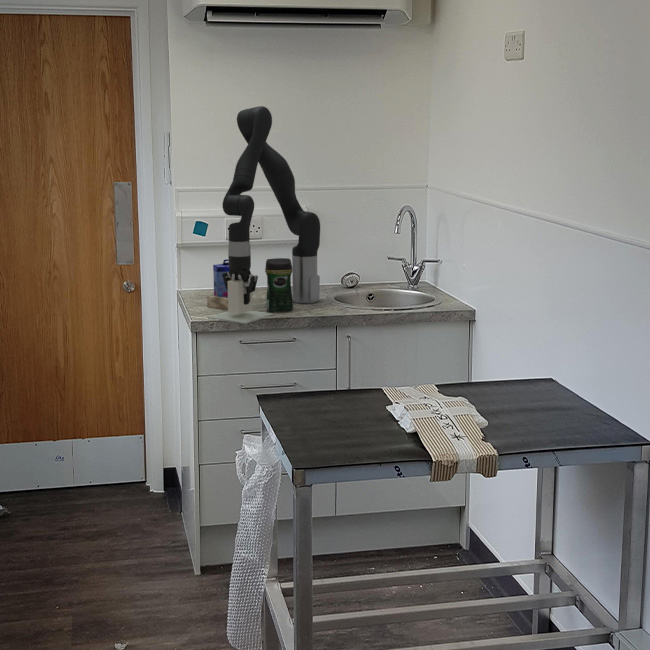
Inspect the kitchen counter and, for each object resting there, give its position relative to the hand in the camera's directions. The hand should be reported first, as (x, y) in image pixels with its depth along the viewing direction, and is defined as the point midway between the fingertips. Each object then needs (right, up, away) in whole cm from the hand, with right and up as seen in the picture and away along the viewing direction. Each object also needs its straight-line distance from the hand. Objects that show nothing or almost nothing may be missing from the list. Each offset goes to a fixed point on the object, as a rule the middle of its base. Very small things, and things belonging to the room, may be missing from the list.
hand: (240, 303), depth 325 cm
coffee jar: (+13, -2, +12) cm, 17 cm away
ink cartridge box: (-8, +3, +36) cm, 37 cm away
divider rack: (-6, 0, +20) cm, 20 cm away
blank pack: (0, -3, +1) cm, 3 cm away
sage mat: (0, -5, +1) cm, 5 cm away
